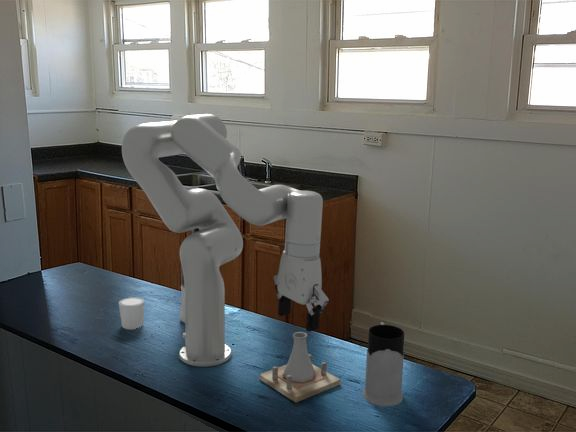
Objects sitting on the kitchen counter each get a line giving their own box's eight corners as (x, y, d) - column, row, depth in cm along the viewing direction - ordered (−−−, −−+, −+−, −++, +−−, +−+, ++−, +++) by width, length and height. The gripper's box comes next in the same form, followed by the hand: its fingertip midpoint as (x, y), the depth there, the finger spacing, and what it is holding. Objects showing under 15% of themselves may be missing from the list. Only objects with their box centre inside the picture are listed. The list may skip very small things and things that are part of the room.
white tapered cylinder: (127, 332, 163) (126, 307, 162) (115, 324, 168) (114, 300, 167) (150, 326, 168) (149, 301, 166) (138, 318, 173) (137, 295, 171)
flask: (294, 365, 144) (295, 325, 141) (321, 374, 140) (322, 333, 137) (276, 377, 138) (277, 336, 136) (303, 386, 134) (304, 344, 131)
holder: (363, 405, 129) (367, 339, 126) (359, 373, 143) (362, 313, 140) (405, 407, 129) (410, 341, 126) (397, 375, 143) (401, 314, 140)
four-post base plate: (259, 379, 140) (259, 362, 139) (302, 363, 148) (303, 348, 147) (295, 402, 130) (296, 385, 129) (340, 384, 138) (340, 368, 137)
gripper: (264, 240, 136) (261, 312, 140) (315, 262, 123) (310, 340, 127) (290, 236, 141) (286, 306, 145) (342, 256, 128) (337, 332, 132)
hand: (297, 322), depth 136 cm, fingers open, 9 cm apart
